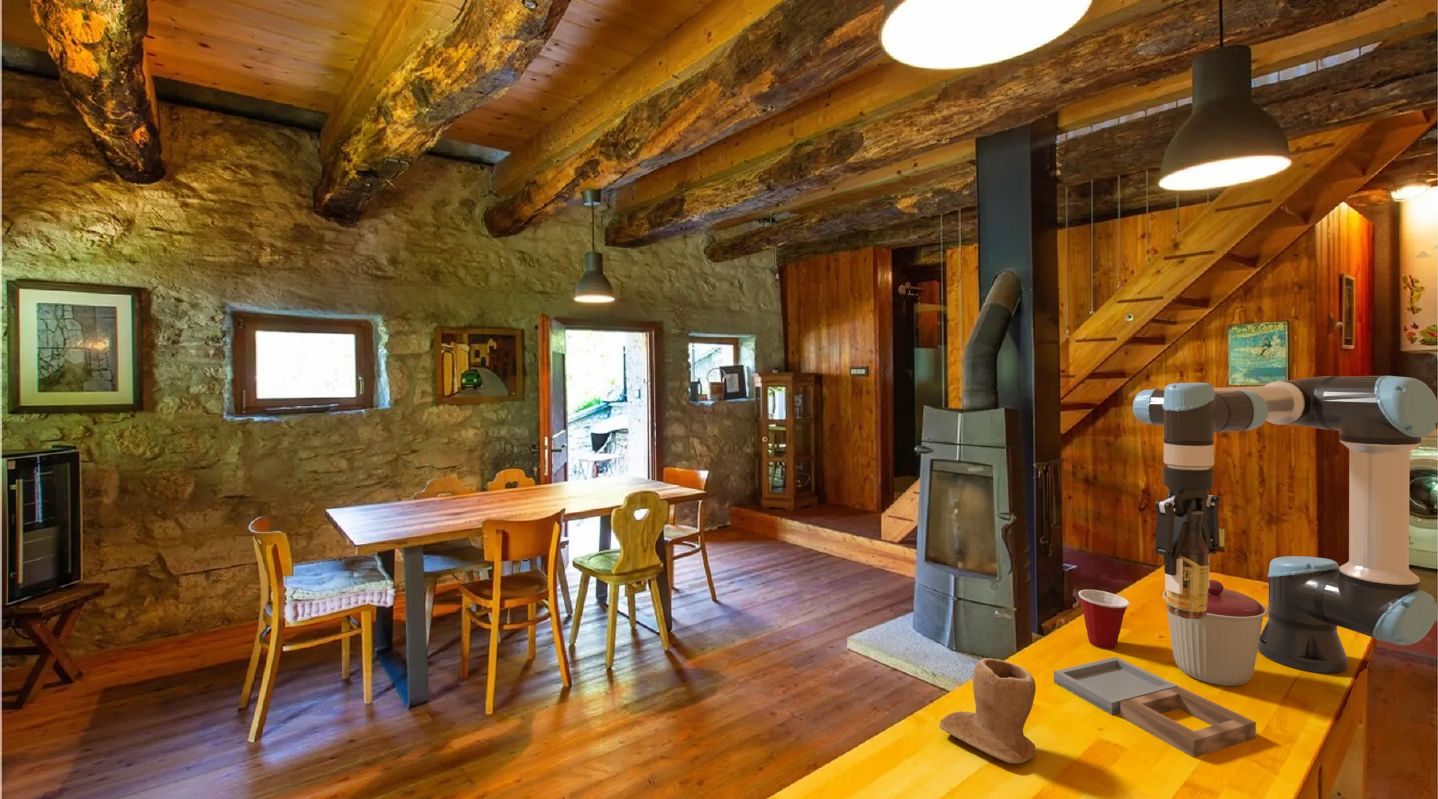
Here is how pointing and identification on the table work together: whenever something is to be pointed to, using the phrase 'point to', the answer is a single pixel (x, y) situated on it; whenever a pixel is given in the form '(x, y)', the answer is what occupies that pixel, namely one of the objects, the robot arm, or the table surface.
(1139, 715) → the bottle stand
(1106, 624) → the plastic cup
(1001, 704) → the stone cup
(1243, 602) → the canister
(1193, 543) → the sauce bottle
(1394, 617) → the robot arm
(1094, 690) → the tray
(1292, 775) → the table surface
